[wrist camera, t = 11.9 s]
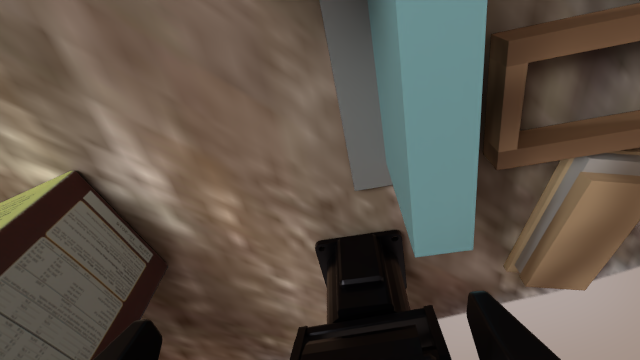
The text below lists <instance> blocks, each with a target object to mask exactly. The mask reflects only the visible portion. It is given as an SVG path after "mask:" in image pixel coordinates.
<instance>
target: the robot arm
mask: <svg viewBox="0 0 640 360" xmlns="http://www.w3.org/2000/svg"><path fill="white" fill-rule="evenodd" d="M394 236H397V237H395V238H392V237H394ZM321 247H323V248H321ZM315 250H316V254H317V257H318V260H319V264H320V267H321V270H322V274H323V277H324V280H325V284H326V287H327V324H324V325H318V326H313V327H308V326H304V327H299V329H298V332H297V336H296V339H295V342H294V345H293V349H292V353H291V357H290V360H451V357H450V354H449V351H448V348H447V345H446V343H445V340H444V337H443V334H442V331H441V329H440V326H439V323H438V320H437V317H436V314H435V312H434V309H433V306H432V305H429V306H423V307H424V308H420V309H414V310H410V306H409V302H408V298H407V294H406V290H405V289H406V288H407V284H406V274H405V264H404V254H403V245H402V237H401V233H400V232H399V231H397V230H391V231H384V232H377V233H370V234H363V235H356V236H349V237H342V238H335V239H328V240H321V241H318V242H317V243H316V244H315ZM467 319H468V322H469V326H470V329H471V332H472V336H473V339H474V342H475V346H476V349H477V353H478V356H479V359H480V360H561V359H560V358H558V357H557V356H556V355H555V354H554V353H553V352H552V351H551V350H550V349H548V347H547V346H545V345H544V344H543V343H542V342H541V341H540V340H539V339H538V338H537V337H536V336H535V335H533V334H532V333H531V332H530V331H529V330H528V329H527V328H526V327H525V326H524V325H523V324H521V323H520V322H519V321H518V320H517V319H516V318H515V317H514V316H513V315H512V314H511V313H510V312H508V311H507V310H506V309H505V308H504V307H503V306H502V305H501V304H500V303H499V302H498V301H496V300H495V299H494V298H493V297H492V296H491V295H490V294H489V293H487V292H486V291H475V292H470V293H469V296H468V303H467ZM161 345H162V335H161V333H160V332H159V331H158V329H157V328H156V326H155V325H154V324H153V322H152V321H151V320H149V319H143V320H136V321H134V322H133V323H131V324H130V325H129V326H128V327H127V328H126V329H125V330H124V331H123V332H122V333H121V334H120V335H119V336H118V337H117V338H116V339H115V340H113V341H112V342H111V343H110V344H109V345H108V346H107V347H106V348H105V349H104V350H103V351H102V352H101V353H100V354H99V355H98V356H97V357H95V358H94V359H93V360H158V358H159V354H160V350H161Z"/></svg>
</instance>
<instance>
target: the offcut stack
mask: <svg viewBox="0 0 640 360" xmlns="http://www.w3.org/2000/svg"><path fill="white" fill-rule="evenodd" d="M639 220H640V148H632V149H626V150H620V151H614V152H607V153H601V154H595V155H589V156H583V157H576V158H570V159H564V160H560V162H559V164H558V166H557V168H556V170H555V171H554V173H553V175H552V177H551V179H550V181H549V183H548V184H547V186H546V188H545V190H544V192H543V194H542V195H541V197H540V199H539V201H538V203H537V205H536V207H535V208H534V210H533V212H532V214H531V216H530V218H529V219H528V221H527V223H526V225H525V227H524V229H523V230H522V232H521V234H520V236H519V238H518V240H517V242H516V243H515V245H514V247H513V249H512V251H511V253H510V254H509V256H508V258H507V260H506V262H505V264H504V268H505V270H506V271H507V272H519V273H520V275H519V277H520V278H521V280H522V281H523V283H524V285H525V286H526V287H539V288H555V289H571V290H586V289H587V287H588V286H589V284H590V283H591V282H592V281H593V280H594V278H595V277H596V276H597V274H598V273H599V272H600V271H601V269H602V268H603V267H604V265H605V264H606V263H607V262H608V260H609V259H610V258H611V256H612V255H613V254H614V253H615V251H616V250H617V249H618V247H619V246H620V245H621V244H622V242H623V241H624V240H625V238H626V237H627V236H628V235H629V233H630V232H631V231H632V229H633V228H634V227H635V226H636V224H637V223H638V222H639Z"/></svg>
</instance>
